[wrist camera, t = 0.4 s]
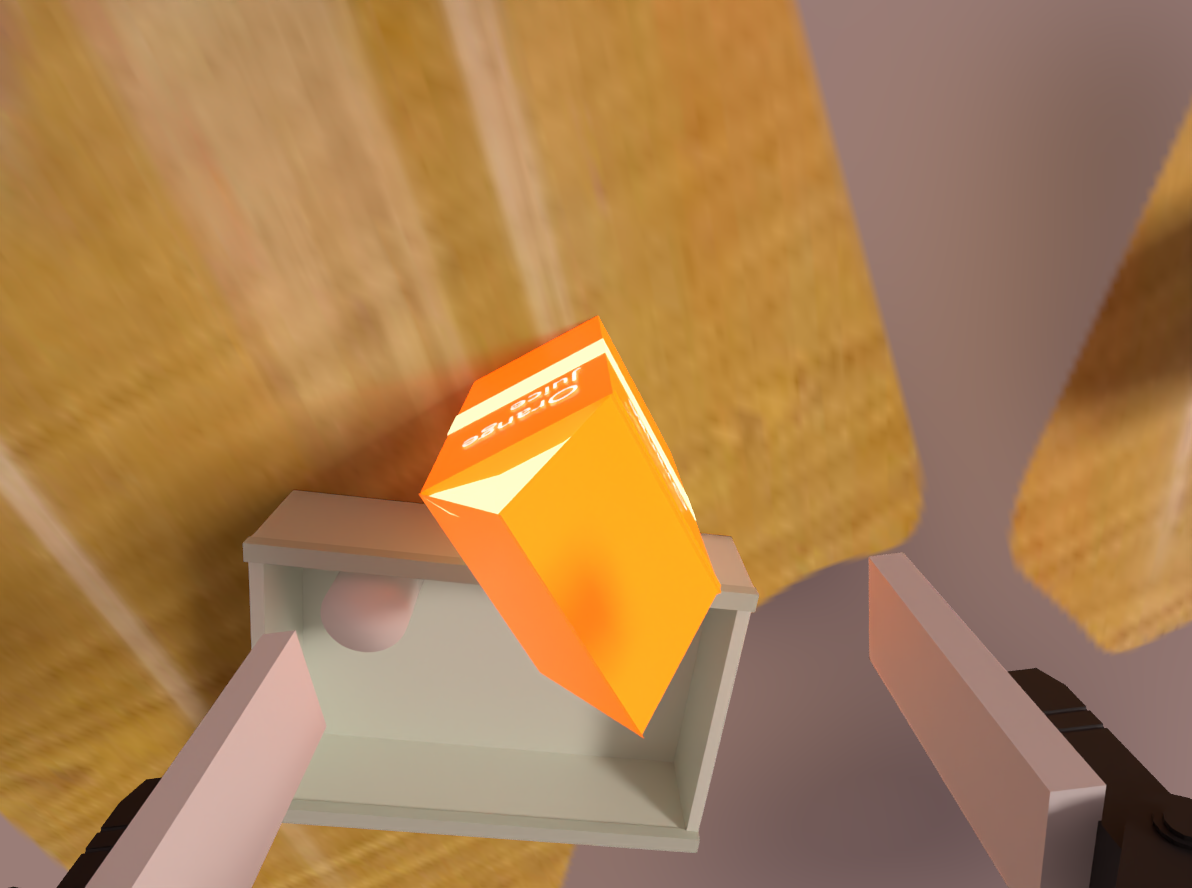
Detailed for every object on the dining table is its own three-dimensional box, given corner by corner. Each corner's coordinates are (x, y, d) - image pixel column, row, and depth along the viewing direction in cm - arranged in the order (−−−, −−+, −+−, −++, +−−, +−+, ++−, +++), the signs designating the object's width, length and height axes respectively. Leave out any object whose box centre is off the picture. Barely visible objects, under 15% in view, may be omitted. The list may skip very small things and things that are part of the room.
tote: (295, 734, 46) (253, 820, 40) (293, 487, 40) (242, 543, 34) (680, 766, 48) (696, 852, 42) (731, 534, 42) (759, 594, 36)
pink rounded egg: (348, 595, 42) (320, 648, 37) (349, 528, 40) (320, 574, 36) (424, 603, 42) (406, 656, 38) (428, 536, 41) (410, 582, 36)
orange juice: (599, 312, 37) (627, 446, 19) (673, 452, 40) (762, 690, 21) (470, 382, 38) (372, 575, 20) (550, 514, 41) (533, 792, 22)
